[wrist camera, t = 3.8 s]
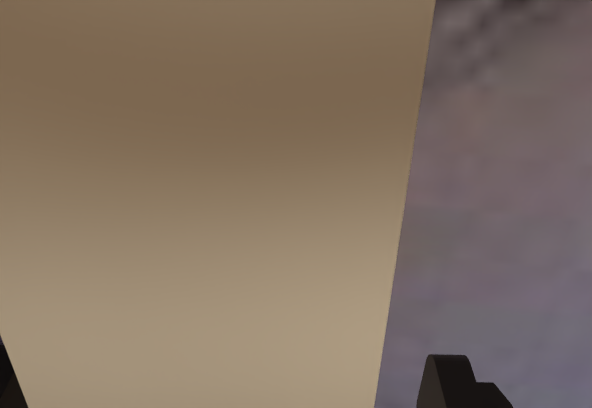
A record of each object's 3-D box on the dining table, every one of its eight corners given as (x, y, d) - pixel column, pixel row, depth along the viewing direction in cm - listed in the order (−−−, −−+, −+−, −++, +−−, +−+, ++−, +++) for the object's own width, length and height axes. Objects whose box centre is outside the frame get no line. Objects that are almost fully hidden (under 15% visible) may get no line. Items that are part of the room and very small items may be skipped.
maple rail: (48, -416, 7) (-492, -943, 2) (387, -407, 7) (574, -907, 2) (195, 530, 21) (162, 754, 16) (315, 532, 21) (320, 756, 16)
